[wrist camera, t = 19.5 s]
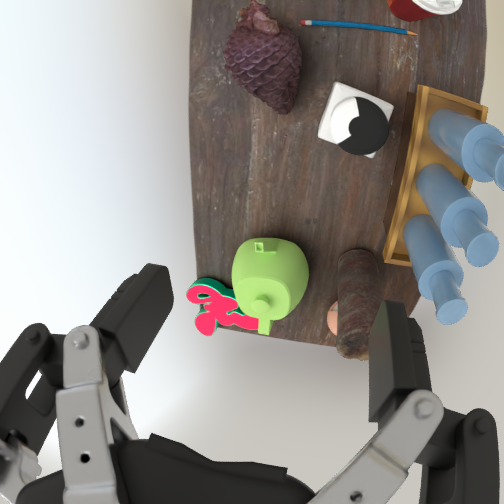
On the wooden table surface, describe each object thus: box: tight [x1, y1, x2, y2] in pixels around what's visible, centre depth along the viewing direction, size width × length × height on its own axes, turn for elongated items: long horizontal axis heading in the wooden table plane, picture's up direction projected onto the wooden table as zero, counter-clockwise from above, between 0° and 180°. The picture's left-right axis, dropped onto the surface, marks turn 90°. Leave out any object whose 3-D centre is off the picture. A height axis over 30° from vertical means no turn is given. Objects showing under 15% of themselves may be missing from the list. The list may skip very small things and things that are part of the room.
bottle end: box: [402, 214, 468, 325], centre depth 31 cm, size 6×6×16 cm
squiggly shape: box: [186, 278, 259, 336], centre depth 64 cm, size 20×16×2 cm
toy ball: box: [327, 301, 338, 336], centre depth 55 cm, size 8×8×8 cm
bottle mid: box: [416, 163, 499, 267], centre depth 27 cm, size 6×6×16 cm
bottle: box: [428, 108, 504, 191], centre depth 23 cm, size 6×6×16 cm
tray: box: [383, 84, 488, 267], centre depth 36 cm, size 25×9×10 cm, turn 179°
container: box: [318, 82, 394, 158], centre depth 34 cm, size 8×8×13 cm
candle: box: [336, 249, 383, 361], centre depth 45 cm, size 8×7×20 cm
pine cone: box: [223, 0, 302, 115], centre depth 34 cm, size 18×10×10 cm
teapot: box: [232, 238, 309, 335], centre depth 51 cm, size 20×13×13 cm
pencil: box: [300, 20, 418, 35], centre depth 31 cm, size 1×17×1 cm, turn 93°
